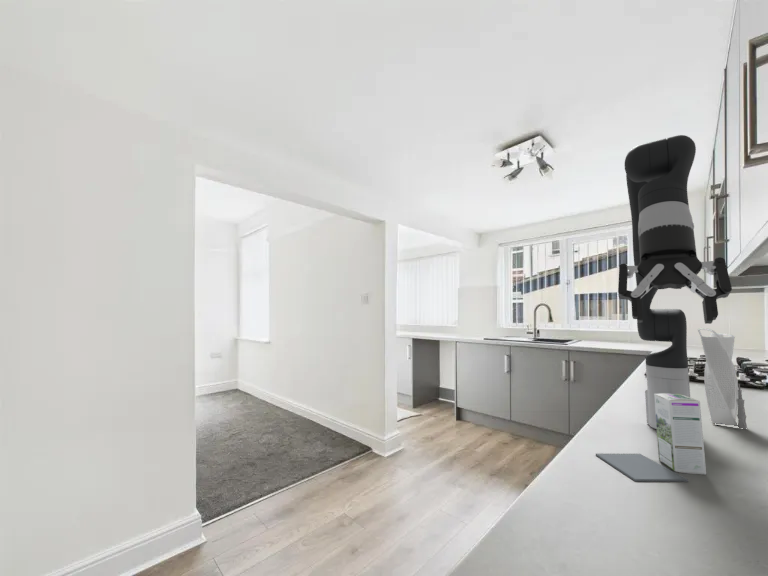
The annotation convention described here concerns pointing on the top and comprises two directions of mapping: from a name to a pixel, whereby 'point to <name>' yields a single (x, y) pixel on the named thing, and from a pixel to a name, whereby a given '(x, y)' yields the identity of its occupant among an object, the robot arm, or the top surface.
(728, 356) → the skyscraper
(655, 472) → the mat
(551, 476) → the top surface
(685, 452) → the syrup box
